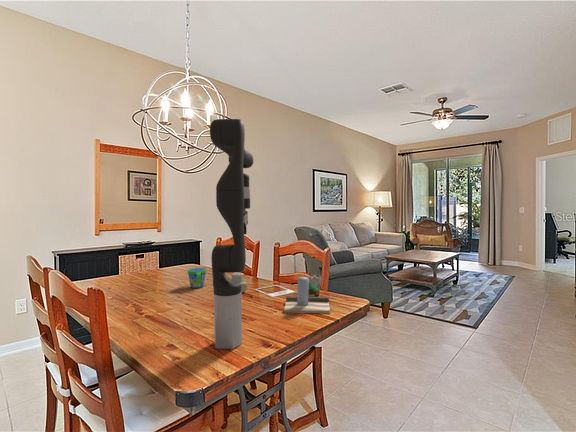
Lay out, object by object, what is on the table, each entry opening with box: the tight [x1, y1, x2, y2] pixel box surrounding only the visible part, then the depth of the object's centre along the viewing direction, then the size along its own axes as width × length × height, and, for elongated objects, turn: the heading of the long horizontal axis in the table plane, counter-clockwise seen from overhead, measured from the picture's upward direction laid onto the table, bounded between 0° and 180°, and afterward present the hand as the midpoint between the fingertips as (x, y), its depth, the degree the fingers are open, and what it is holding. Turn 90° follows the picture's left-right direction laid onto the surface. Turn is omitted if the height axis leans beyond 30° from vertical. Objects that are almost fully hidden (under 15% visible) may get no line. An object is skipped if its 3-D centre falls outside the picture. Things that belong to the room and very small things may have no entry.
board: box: [283, 296, 331, 314], centre depth 141 cm, size 14×20×3 cm
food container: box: [308, 273, 322, 297], centre depth 161 cm, size 12×6×10 cm, turn 168°
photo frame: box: [254, 284, 296, 298], centre depth 169 cm, size 15×1×18 cm
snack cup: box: [187, 267, 207, 289], centre depth 180 cm, size 16×10×10 cm
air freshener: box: [231, 272, 249, 293], centre depth 168 cm, size 11×8×10 cm
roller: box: [296, 276, 310, 306], centre depth 142 cm, size 5×5×12 cm
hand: (241, 234), depth 136 cm, fingers open, 8 cm apart
